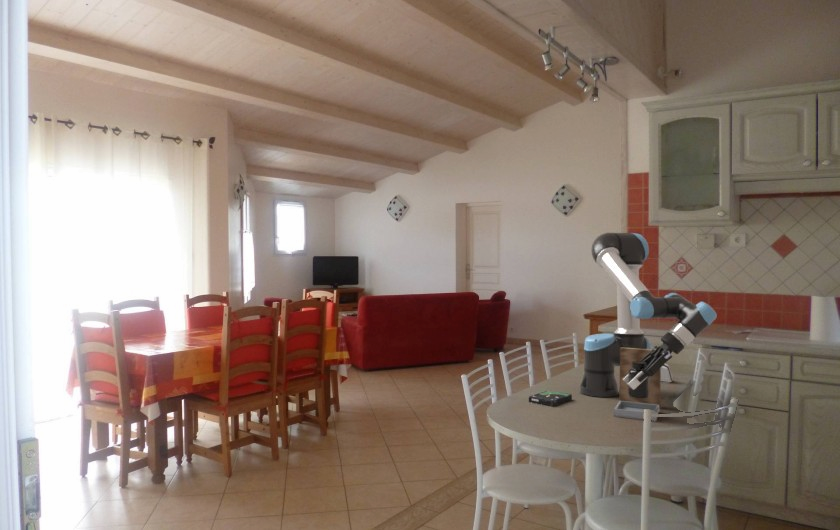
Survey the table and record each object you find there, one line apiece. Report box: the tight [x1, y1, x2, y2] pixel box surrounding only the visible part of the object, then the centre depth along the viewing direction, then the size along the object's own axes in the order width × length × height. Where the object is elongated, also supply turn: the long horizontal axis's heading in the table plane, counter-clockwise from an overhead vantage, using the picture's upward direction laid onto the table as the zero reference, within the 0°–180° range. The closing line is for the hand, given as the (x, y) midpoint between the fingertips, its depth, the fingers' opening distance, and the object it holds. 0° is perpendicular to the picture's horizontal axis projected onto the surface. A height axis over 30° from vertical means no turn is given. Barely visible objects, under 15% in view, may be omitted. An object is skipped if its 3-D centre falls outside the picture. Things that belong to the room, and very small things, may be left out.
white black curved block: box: [661, 363, 674, 383], centre depth 271 cm, size 17×5×10 cm, turn 50°
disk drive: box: [528, 390, 573, 408], centre depth 230 cm, size 10×3×15 cm
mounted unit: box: [618, 347, 662, 410], centre depth 225 cm, size 14×6×21 cm, turn 64°
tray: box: [613, 401, 660, 422], centre depth 212 cm, size 14×14×2 cm
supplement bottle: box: [628, 361, 649, 398], centre depth 211 cm, size 7×7×12 cm
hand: (628, 384), depth 212 cm, fingers closed on supplement bottle, 7 cm apart
